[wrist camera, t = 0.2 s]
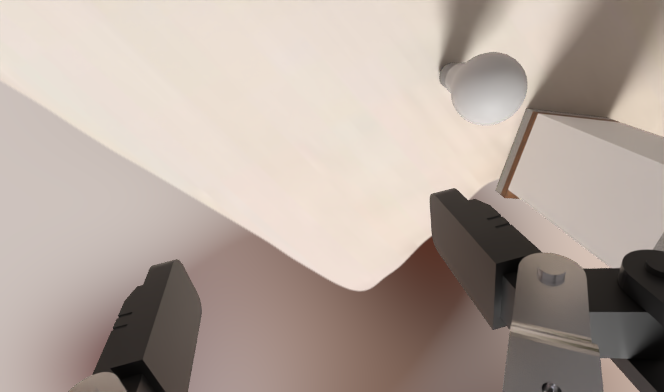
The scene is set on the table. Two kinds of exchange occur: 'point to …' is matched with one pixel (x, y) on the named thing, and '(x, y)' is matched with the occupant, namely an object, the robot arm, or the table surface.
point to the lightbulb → (486, 87)
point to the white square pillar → (590, 180)
